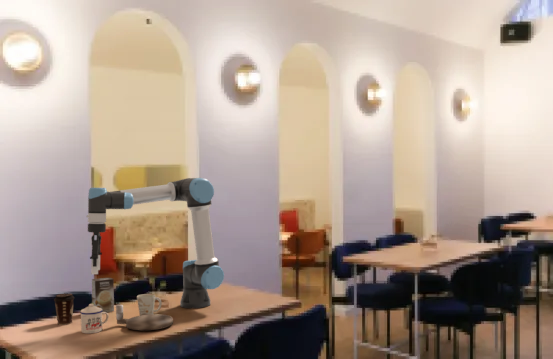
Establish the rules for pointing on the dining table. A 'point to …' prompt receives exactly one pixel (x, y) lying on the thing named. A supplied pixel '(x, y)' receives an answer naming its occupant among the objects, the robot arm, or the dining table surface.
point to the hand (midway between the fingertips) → (95, 272)
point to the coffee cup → (64, 308)
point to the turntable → (143, 320)
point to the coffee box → (103, 294)
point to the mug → (147, 304)
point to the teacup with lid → (92, 319)
